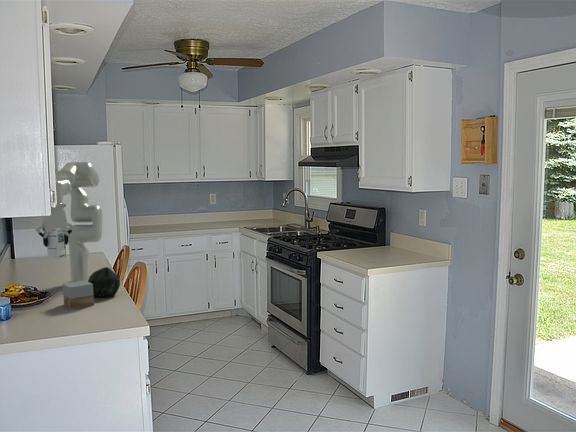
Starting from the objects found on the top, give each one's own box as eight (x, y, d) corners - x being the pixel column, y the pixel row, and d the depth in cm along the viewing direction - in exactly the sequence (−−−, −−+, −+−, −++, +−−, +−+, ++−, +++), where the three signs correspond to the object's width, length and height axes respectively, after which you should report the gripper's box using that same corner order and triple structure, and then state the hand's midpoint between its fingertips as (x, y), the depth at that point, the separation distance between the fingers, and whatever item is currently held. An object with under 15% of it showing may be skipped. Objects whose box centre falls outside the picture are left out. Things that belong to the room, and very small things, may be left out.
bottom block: (63, 305, 239) (63, 294, 238) (86, 301, 245) (85, 291, 245) (71, 309, 231) (70, 298, 231) (93, 305, 237) (93, 294, 237)
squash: (87, 281, 261) (87, 262, 251) (119, 280, 266) (120, 261, 256) (87, 305, 252) (87, 287, 241) (120, 304, 257) (121, 285, 247)
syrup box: (58, 259, 240) (57, 227, 238) (47, 259, 241) (45, 227, 240) (66, 257, 246) (64, 226, 244) (55, 256, 247) (53, 226, 245)
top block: (62, 294, 238) (62, 283, 237) (85, 291, 244) (84, 280, 244) (70, 298, 230) (70, 287, 230) (93, 294, 237) (92, 283, 236)
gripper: (71, 205, 249) (73, 242, 251) (31, 208, 238) (33, 246, 240) (76, 206, 243) (78, 244, 245) (35, 209, 232) (38, 248, 234)
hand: (56, 245), depth 243 cm, fingers closed on syrup box, 8 cm apart
